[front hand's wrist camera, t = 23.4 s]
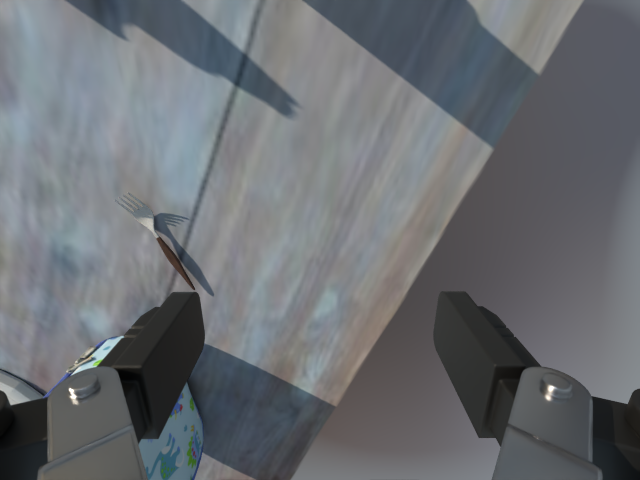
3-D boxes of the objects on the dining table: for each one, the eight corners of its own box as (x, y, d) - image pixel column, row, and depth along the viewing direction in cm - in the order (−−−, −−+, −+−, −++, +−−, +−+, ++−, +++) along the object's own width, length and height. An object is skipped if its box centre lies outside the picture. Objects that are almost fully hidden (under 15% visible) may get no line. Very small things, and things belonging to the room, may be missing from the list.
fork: (188, 291, 50) (183, 298, 48) (120, 196, 45) (112, 200, 43) (203, 284, 50) (198, 291, 48) (136, 188, 44) (128, 191, 43)
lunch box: (100, 322, 52) (-34, 450, 32) (167, 312, 51) (72, 436, 32) (157, 443, 61) (80, 600, 41) (214, 436, 60) (164, 592, 41)
